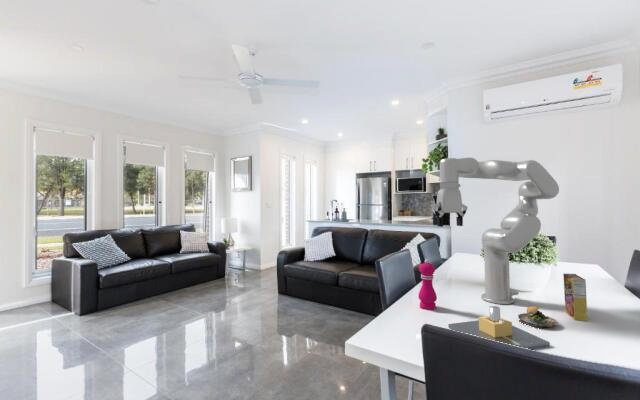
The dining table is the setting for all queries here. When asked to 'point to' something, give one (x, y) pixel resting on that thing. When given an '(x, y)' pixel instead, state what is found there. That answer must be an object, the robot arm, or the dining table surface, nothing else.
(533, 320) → the plate of food
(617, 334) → the dining table surface
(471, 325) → the hub plate
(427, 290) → the pepper mill
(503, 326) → the yellow socket block
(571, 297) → the candy box
